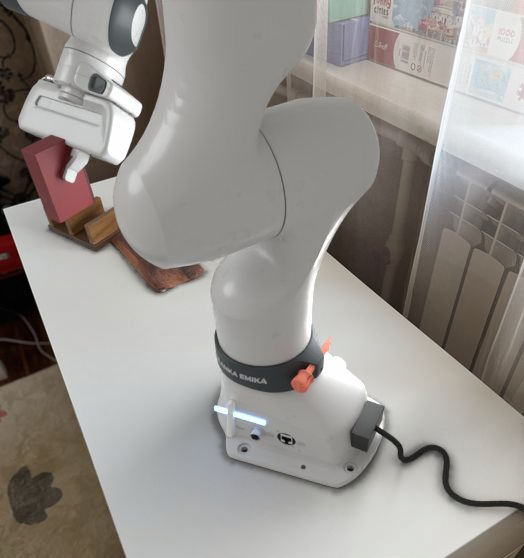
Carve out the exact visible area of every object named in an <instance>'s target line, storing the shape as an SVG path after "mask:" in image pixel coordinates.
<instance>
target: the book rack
mask: <svg viewBox="0 0 524 558" xmlns="http://www.w3.org/2000/svg"><path fill="white" fill-rule="evenodd" d="M94 198H95V201H96V203H93V204H92V205H90V206H88V207H87V208H85V209H83V210H82V211H80V212H79V213H77V214H75V215H74V216H72V217H70V218H69V219H67V220H65V221H64V222H62V223H59V222H56V221H54V220H52V219H50V218H48V217H47V215H46V212H45V210H44V207H43V206H42V208H43V211H44V213H45V217H46V218H47V221H48V224H47V228H48V230H49V231H51V232H52V233H56V234H57V235H59V236H61V237H63V238H66V239H67V240H70V241H72V242H74V243H76V244H78V245H80V246H82V247H85V248H86V249H88V250H91V251H93V252H96V253H97V252H98V251H100V250H101V249H103V248H104V247H107V245H109V244H111V243H112V241H111V240H112V239H113V238H114V237H115V236H116V235H117V234H119V233H120V232H121V230H120V228H119V226H118V223H117V220H116V217H115V212H114V206H112V207H111V208H109V209H108V210H106V211H105V208H104V205H103V201H102V198H101V197H100V196H98V195H96V196H94Z"/></svg>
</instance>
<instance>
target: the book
mask: <svg viewBox="0 0 524 558" xmlns="http://www.w3.org/2000/svg"><path fill="white" fill-rule="evenodd" d="M72 149H73V148H72V147H70V146H67V145H66V144H65V139H63V138H60V137H57V136H54V135H49V136H47V137H45V138H43V139H42V138H40V139H39V140H37V141H35V142H33V143H31V144H28V145H27V146H25V147H23V148H21V149H20V151H21V154H22V156H23V159H24V161H25V164H26V167H27V169H28V173H29V175H30V177H31V179H32V182H33V184H34V187H35V190H36V192H37V195H38V198H39V200H40V202H41V205H42V208H43V207H44V208H43V211H44V210H45V211H44V213H45V212H46V213H45V216H46V215H47V216H46V218H47V217H48V218H50V219H52V220H54V221H56V222H59V223H62V222H64V221H65V220H67V219H69V218H70V217H72V216H74V215H75V214H77V213H79V212H80V211H82V210H83V209H85V208H87V207H88V206H90V205H92V204H93V203H96V201H95V198H94V197H95V195H94V192H93V189H92V185H91V182H90V179H89V176H88V172H87V169H86V165H85V166H84V167H83V168H82V169H81V170H80V171H79V172H78V173H77V176H76V179H75V181H74V182H73V183H71V182H68V181H66V180H63V179H61V178H60V177H59V174H60V172H61V168H62V166H65V167H66V165H67V164H68V163H69V161H70V160H71V159H72V157H73V156H71V152H72Z"/></svg>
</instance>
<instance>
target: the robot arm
mask: <svg viewBox="0 0 524 558" xmlns="http://www.w3.org/2000/svg"><path fill="white" fill-rule="evenodd" d="M0 2H1V4H2V5H3V7H5V8H6V9H8V10H10V11H13V12H14V13H18V14H21V15H23V16H24V17H28V18H30V19H34V20H37V21H39V22H41V23H44V24H46V25H47V26H49V27H52V28H54V29H56V30H58V31H60V32H63V33H64V34H66V35H68V36H70V37H69V38H68V40H67V41H66V43H64V46H63V50H62V51H61V55H60V57H59V61H58V64H57V66H56V69H55V71H54V75H53V74H45V76H43V77H42V78H41V79H38V81H37V82H36V83H35V84H34V85H33V86H32V87H31V89H30V91H29V93H28V95H27V97H26V99H25V101H24V103H23V106H22V108H21V111H20V112H19V116H18V127H19V129H20V130H23V131H24V132H26V133H28V134H30V135H32V136H34V137H36V138H40V139H43V138H45V137H47V136H49V135H54V136H57V137H60V138H63V139H65V144H66V145H67V146H70V147H72V148H73V149H72V152H71V156H73V157H72V159H71V160H70V161H69V163H68V164H67V165H66V167H65V166H62V168H61V172H60V174H59V177H60V178H61V179H63V180H66V181H68V182H71V183H73V182H74V181H75V179H76V176H77V173H78V172H79V171H80V170H81V169H82V168H83V167H84V166H85V167H86V166H87V164H88V162H89V160H90V157H92V158H95V159H98V160H100V161H103V162H106V163H108V164H111V165H115V166H119V165H120V164H121V165H120V166H119V168H118V171H117V174H116V177H115V180H114V184H113V191H112V192H113V194H112V204H113V205H112V207H114V212H115V217H116V220H117V223H118V226H119V228H120V230H121V232H122V234H123V236H124V238H125V239H126V241H127V242H128V244H129V245H130V246H131V247H132V248H133V249H134V251H135V252H137V253H138V254H139V255H140V256H141V257H142V258H144V259H145V260H147V261H148V262H150V263H151V264H153V265H155V266H157V267H160V268H162V269H169V268H175V267H182V266H189V265H194V264H200V265H201V264H205V263H209V262H215V261H217V260H219V259H221V261H220V262H219V264H218V265H217V267H216V269H215V271H214V273H213V276H212V280H211V284H210V300H211V306H212V313H213V318H214V324H215V330H214V337H213V339H214V348H215V358H216V361H217V364H218V366H219V369H220V373H221V377H220V379H221V380H220V381H221V383H220V393H219V397H218V400H217V405H214V406H213V409H214V411H215V412H216V415H217V420H218V423H219V424H220V427H221V429H222V431H223V432H224V436H225V450H226V454H227V456H228V457H229V458H231V459H233V460H237V461H240V462H244V463H247V464H250V465H254V466H257V467H261V468H264V469H267V470H271V471H274V472H279V473H282V474H285V475H289V476H292V477H295V478H299V479H302V480H306V481H310V482H313V483H317V484H320V485H323V486H327V487H331V488H335V489H339V488H343V487H344V486H346V485H348V484H350V483H351V482H353V481H354V480H356V479H357V478H358V477H359V476H360V475H361V474H362V473H363V472H364V470H366V469H367V467H368V466H369V464H370V463H371V461H372V459H373V458H374V456H375V454H376V452H377V450H378V448H379V446H380V444H381V441H382V440H383V438H384V439H386V440H388V441H389V442H390V443H392V444H393V446H394V447H395V448H396V449H397V450H396V451H397V458H398V460H399V461H400V462H402V463H411V462H414V461H415V460H417V459H418V458H420V457H421V456H422V455H424V454H426V453H427V452H430V451H435V452H438V453H439V454H440V455H441V456H442V459H443V467H442V475H441V476H442V478H441V479H442V487H443V489H444V491H445V493H446V494H447V495H448V496H449V497H450V498H451V499H453V500H454V501H456V502H458V503H460V504H462V505H465V506H467V507H475V508H513V509H517V510H519V511H521V512H522V513H524V504H523V503H521V502H517V501H512V500H474V499H468V498H466V497H462V496H461V495H459V494H457V493H456V492H455V491H454V490H453V489H452V487H451V485H450V478H449V477H450V467H451V461H450V460H451V459H450V455H449V453H448V452H447V450H446V449H444V447H442V446H440V445H437V444H427V445H424V446H422V447H421V448H419V449H418V450H416V451H415V452H414V453H412V454H411V455H409V456H405V454H404V453H405V451H404V446H403V444H402V443H401V442H400V441H399V439H397V438H396V437H395V436H394V435H392V434H391V433H390V432H388V431H387V430H385V425H386V423H385V422H386V421H385V420H386V418H385V408H386V407H385V405H383V404H380V403H379V402H378V401H376V400H375V399H373V398H371V397H370V396H369V395H368V393H367V389H366V386H365V385H364V383H363V382H362V381H361V380H360V379H359V378H358V377H357V376H356V375H354V374H353V373H352V372H351V371H350V370H348V369H347V362H346V361H345V360H344V359H343V358H342V357H340V356H337V355H336V356H332V355H331V354H330V353H329V352H328V351H329V350H330V347H331V345H332V342H331V340H332V337H330V336H329V337H328V338H327V339H326V341H325V342H324V344H322V341H321V340H320V338H319V335H318V333H317V330H316V328H315V326H314V324H313V322H312V316H313V314H312V313H313V302H314V301H313V300H314V298H313V297H314V289H315V283H316V280H317V279H316V278H317V276H318V272H319V270H320V267H321V264H322V263H323V259H324V258H325V255H326V252H327V251H328V248H329V246H330V244H331V242H332V240H333V239H334V237H335V234H336V233H337V231H338V229H339V228H340V226H341V224H342V222H343V221H344V219H345V218H346V217H347V215H348V213H349V212H350V211H351V210H352V208H353V207H354V206H355V205H356V203H358V201H359V200H361V198H362V197H363V196H364V195H365V194H366V193H367V192H368V191H369V190H370V188H371V187H372V186H373V185H374V182H375V180H376V177H377V175H378V170H379V165H380V155H381V154H380V153H381V152H380V151H381V150H380V142H379V141H380V140H379V137H378V133H377V129H376V128H375V126H374V124H373V121H372V120H371V118H370V117H369V115H368V114H367V112H366V111H365V110H364V109H363V107H362V106H360V104H359V103H357V101H355V100H353V99H351V98H349V97H346V96H313V97H312V96H311V97H301V98H296V99H292V100H288V101H286V102H282V103H279V104H276V105H272V106H269V107H268V105H269V103H270V101H271V99H272V97H273V96H274V94H275V92H276V90H277V89H278V87H279V86H280V84H281V83H282V82H283V80H285V78H286V77H287V76H288V75H289V74H290V73H291V72H292V71H293V70H294V69H295V68H296V67H297V65H298V64H299V63H300V62H301V61H302V60H303V58H304V57H305V55H306V54H307V52H308V51H309V48H310V45H311V44H312V41H313V39H314V35H315V32H316V28H317V21H318V20H317V18H318V15H317V14H318V0H161V4H162V5H161V7H162V15H163V16H162V17H163V26H164V38H165V39H164V40H165V41H164V42H165V47H164V48H165V51H164V64H163V65H164V66H163V73H162V77H161V78H162V79H161V85H160V88H159V92H158V97H157V99H156V103H155V106H154V109H153V112H152V114H151V117H150V119H149V121H148V124H147V126H146V127H145V130H144V132H143V134H142V135H141V137H140V139H139V140H138V142H137V144H136V145H135V147H134V148H133V149H132V150H131V152H130V153H129V155H128V156H127V154H128V152H129V149H130V146H131V143H132V141H133V137H134V134H135V130H136V121H135V118H138V117H139V116H140V114H141V112H142V109H143V105H142V103H141V101H139V100H138V99H137V98H135V97H134V96H133V95H132V94H131V93H130V92H128V91H127V90H126V89H125V87H123V84H124V81H125V78H126V68H127V65H128V62H129V60H130V58H131V57H132V55H133V54H134V52H136V51H138V49H139V48H140V43H141V41H142V38H143V35H144V32H145V30H146V26H147V24H148V18H149V8H148V2H149V0H0ZM348 469H349V470H348ZM350 469H351V470H352V471H350Z"/></svg>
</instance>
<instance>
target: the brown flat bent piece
mask: <svg viewBox="0 0 524 558" xmlns="http://www.w3.org/2000/svg"><path fill="white" fill-rule="evenodd" d="M111 241H112V242H111V243H112V244H113V245H114V246H115V248H117V249H118V250H119V251H120V253H121V254H122V255H123V256H124V257H125V258H126V260H127V261H128V262H129V263H130V264H131V265H132V267H133V268H134V269H135V270H136V271H137V272H138V273H139V275H140V276H141V277H142V279H143V280H144V281H145V282H146V283H147V284H148V285H149V286H150V287H151V288H152V290H154V291H156V292H157V293H158V294H161V293H162V294H163V293H164V292H167V291H169V290H171V289H173V288H175V287H177V286H179V285H181V284H186V283H189V282H192V281H194V280H196V279H198V278H200V277H201V276H202V275H204V271H205V270H204V268H203V267H202V265H201V263H200V264H194V265H189V266H182V267H175V268H169V269H162V268H160V267H157V266H155V265H153V264H151V263H150V262H148V261H147V260H145V259H144V258H142V257H141V256H140V255H139V254H138V253H137V252H135V251H134V249H133V248H132V247H131V246H130V245H129V244H128V242H127V241H126V239H125V238H124V236H123V234H122V232H120V233H119V234H117V235H116V236H115V237H114V238H113V239H112V240H111Z"/></svg>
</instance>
